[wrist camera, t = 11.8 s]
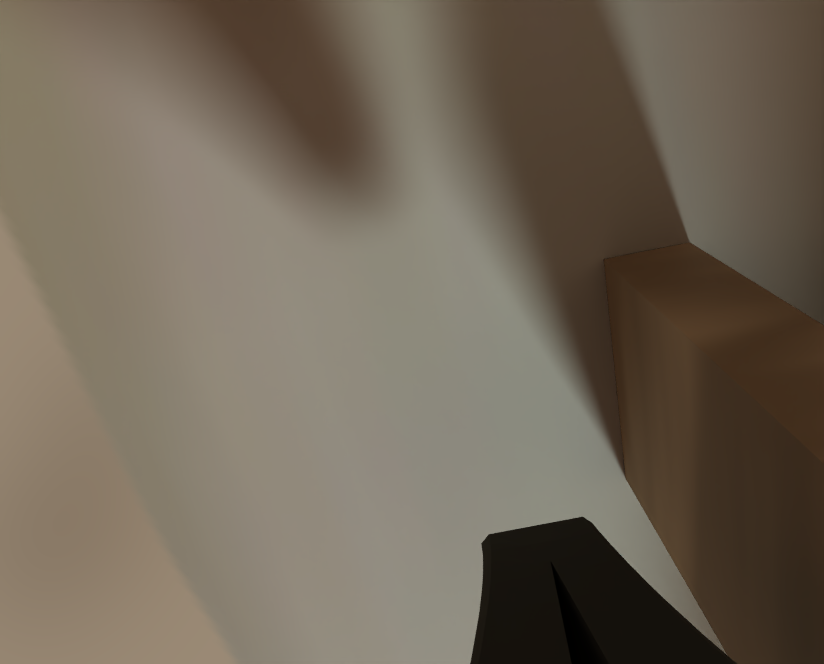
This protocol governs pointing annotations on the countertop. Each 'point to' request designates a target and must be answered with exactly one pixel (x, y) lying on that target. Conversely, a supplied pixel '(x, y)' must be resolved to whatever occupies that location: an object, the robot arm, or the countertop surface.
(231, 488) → the countertop surface
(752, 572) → the brown flat rectangular block
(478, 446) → the countertop surface
